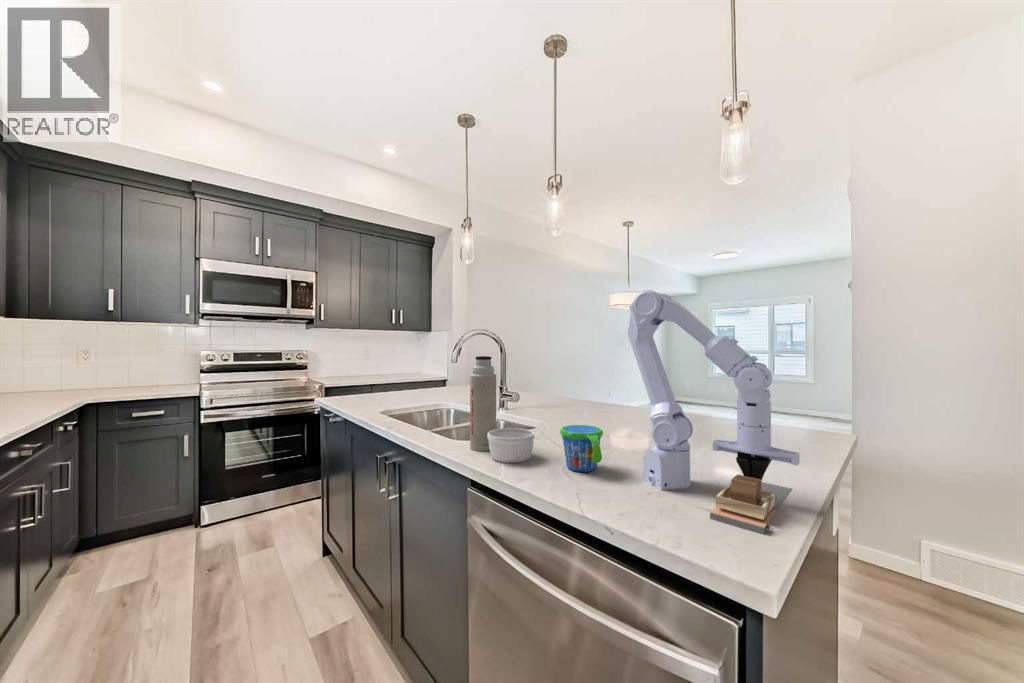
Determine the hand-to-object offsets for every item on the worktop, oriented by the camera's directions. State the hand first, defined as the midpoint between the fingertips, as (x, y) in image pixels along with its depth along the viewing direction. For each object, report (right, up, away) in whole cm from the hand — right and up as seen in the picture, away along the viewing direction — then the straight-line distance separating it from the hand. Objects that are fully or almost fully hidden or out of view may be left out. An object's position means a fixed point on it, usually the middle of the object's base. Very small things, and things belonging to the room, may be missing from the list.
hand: (753, 493), depth 77 cm
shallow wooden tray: (-4, -1, -4) cm, 6 cm away
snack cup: (-30, -3, +23) cm, 38 cm away
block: (-4, 0, -4) cm, 6 cm away
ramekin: (-48, -3, +33) cm, 58 cm away
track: (0, -2, 0) cm, 2 cm away
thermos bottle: (-57, -3, +43) cm, 71 cm away
